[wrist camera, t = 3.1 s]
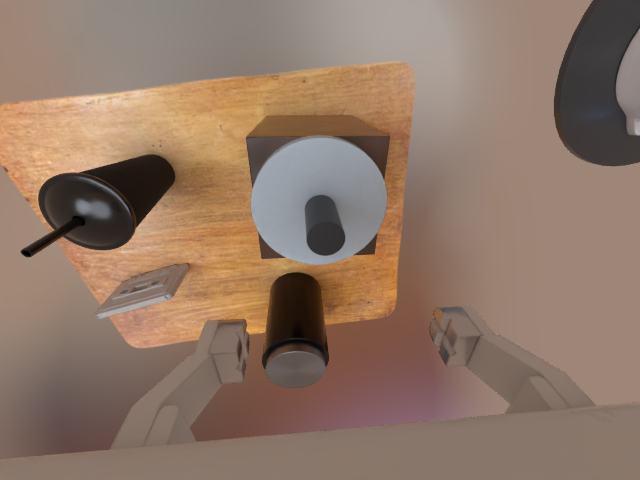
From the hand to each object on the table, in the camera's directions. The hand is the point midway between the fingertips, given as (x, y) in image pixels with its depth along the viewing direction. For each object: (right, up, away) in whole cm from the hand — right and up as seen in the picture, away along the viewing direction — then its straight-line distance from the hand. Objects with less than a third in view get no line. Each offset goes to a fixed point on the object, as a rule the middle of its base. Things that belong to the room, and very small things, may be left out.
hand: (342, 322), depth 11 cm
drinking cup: (-23, +13, +25) cm, 36 cm away
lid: (-1, +7, +11) cm, 13 cm away
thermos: (-5, -6, +37) cm, 38 cm away
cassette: (-28, -2, +33) cm, 43 cm away
